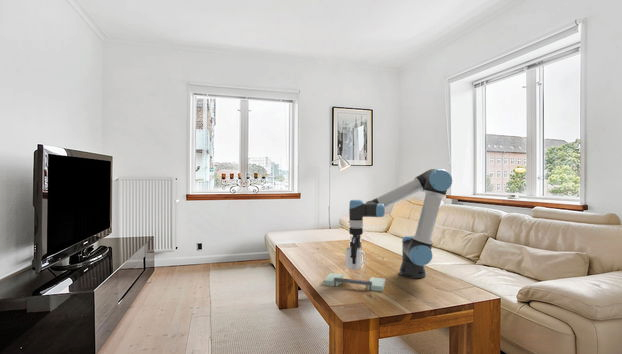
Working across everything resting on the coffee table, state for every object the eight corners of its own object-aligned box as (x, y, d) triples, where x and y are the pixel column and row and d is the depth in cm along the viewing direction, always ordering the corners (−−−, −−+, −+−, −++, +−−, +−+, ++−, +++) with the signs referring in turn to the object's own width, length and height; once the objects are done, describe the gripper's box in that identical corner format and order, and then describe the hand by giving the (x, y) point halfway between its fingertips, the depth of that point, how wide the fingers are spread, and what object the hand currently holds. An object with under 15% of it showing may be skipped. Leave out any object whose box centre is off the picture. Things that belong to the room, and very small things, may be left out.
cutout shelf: (385, 283, 179) (385, 275, 179) (382, 291, 167) (382, 283, 167) (329, 277, 190) (329, 270, 190) (323, 284, 177) (323, 277, 177)
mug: (369, 268, 180) (369, 249, 180) (348, 270, 178) (348, 251, 177) (363, 264, 189) (363, 246, 189) (343, 265, 186) (343, 247, 186)
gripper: (353, 223, 193) (353, 261, 194) (345, 230, 173) (345, 271, 174) (365, 224, 191) (365, 262, 191) (359, 231, 171) (359, 273, 171)
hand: (355, 266), depth 182 cm, fingers closed on mug, 9 cm apart
